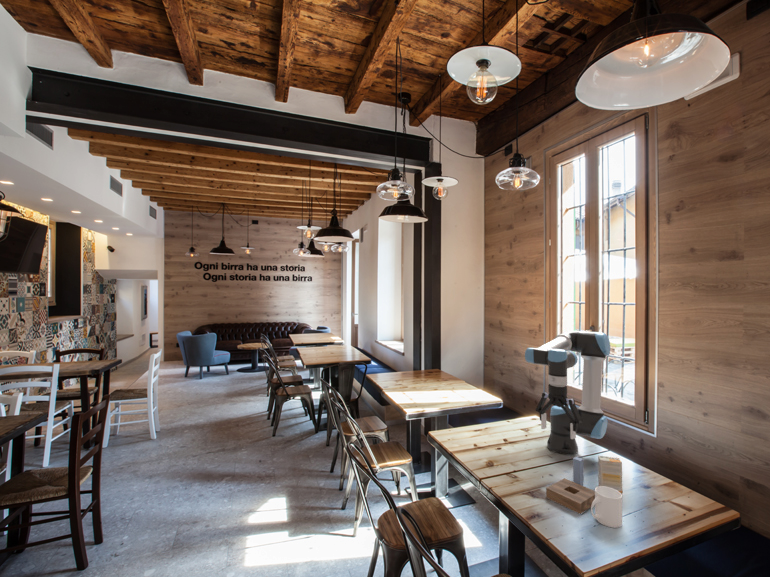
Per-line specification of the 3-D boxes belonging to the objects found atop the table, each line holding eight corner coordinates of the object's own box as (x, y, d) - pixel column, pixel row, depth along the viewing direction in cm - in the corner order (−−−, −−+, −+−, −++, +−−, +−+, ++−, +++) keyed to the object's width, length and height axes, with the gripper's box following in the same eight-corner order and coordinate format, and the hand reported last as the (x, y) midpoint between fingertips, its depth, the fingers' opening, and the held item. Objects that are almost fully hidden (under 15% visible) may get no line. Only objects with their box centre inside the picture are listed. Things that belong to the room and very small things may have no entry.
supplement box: (619, 488, 159) (619, 457, 159) (622, 493, 155) (622, 462, 155) (597, 484, 162) (597, 454, 162) (600, 490, 157) (600, 459, 157)
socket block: (564, 487, 159) (564, 478, 159) (598, 502, 148) (598, 492, 148) (546, 497, 151) (546, 487, 151) (580, 514, 140) (580, 503, 140)
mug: (582, 517, 138) (582, 488, 138) (608, 512, 141) (608, 484, 141) (600, 531, 130) (600, 501, 130) (628, 526, 133) (627, 496, 133)
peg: (576, 483, 162) (576, 456, 163) (583, 486, 160) (583, 459, 160) (573, 485, 161) (573, 458, 161) (580, 488, 158) (579, 460, 158)
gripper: (527, 380, 169) (527, 426, 169) (581, 392, 148) (581, 445, 148) (537, 378, 173) (537, 423, 173) (591, 389, 153) (591, 440, 152)
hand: (558, 433), depth 161 cm, fingers open, 13 cm apart
